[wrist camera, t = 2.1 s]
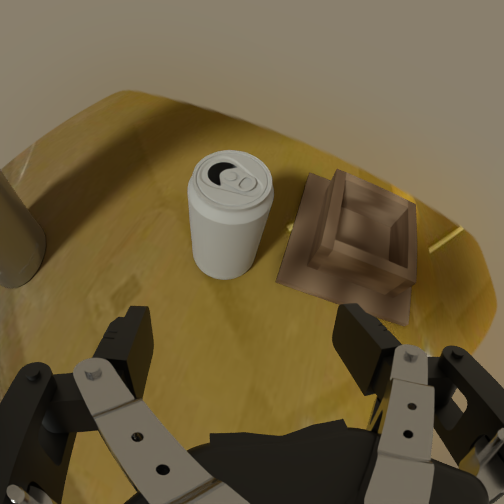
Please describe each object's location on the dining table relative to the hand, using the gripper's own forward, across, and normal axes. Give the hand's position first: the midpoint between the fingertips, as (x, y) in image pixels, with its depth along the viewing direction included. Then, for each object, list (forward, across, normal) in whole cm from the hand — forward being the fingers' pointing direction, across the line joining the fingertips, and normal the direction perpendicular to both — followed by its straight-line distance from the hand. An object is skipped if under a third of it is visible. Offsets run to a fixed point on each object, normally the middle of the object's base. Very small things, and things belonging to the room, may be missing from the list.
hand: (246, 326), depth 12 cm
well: (+20, -16, +2) cm, 25 cm away
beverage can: (+19, 0, +3) cm, 19 cm away
